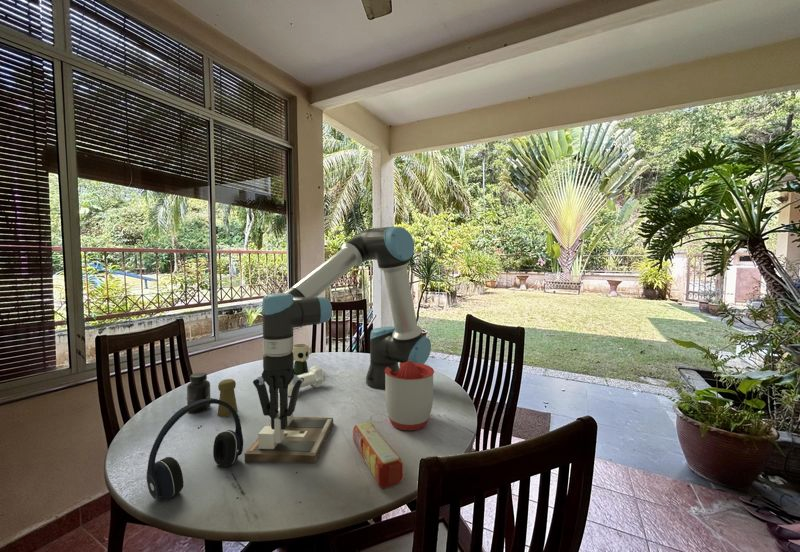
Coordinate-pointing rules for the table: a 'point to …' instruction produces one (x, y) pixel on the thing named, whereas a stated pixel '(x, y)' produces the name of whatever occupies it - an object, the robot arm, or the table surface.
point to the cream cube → (267, 438)
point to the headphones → (167, 472)
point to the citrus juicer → (409, 395)
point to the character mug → (301, 357)
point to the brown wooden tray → (295, 442)
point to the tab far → (289, 418)
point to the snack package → (378, 455)
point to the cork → (227, 397)
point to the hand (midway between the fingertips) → (279, 440)
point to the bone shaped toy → (309, 379)
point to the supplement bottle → (198, 391)
